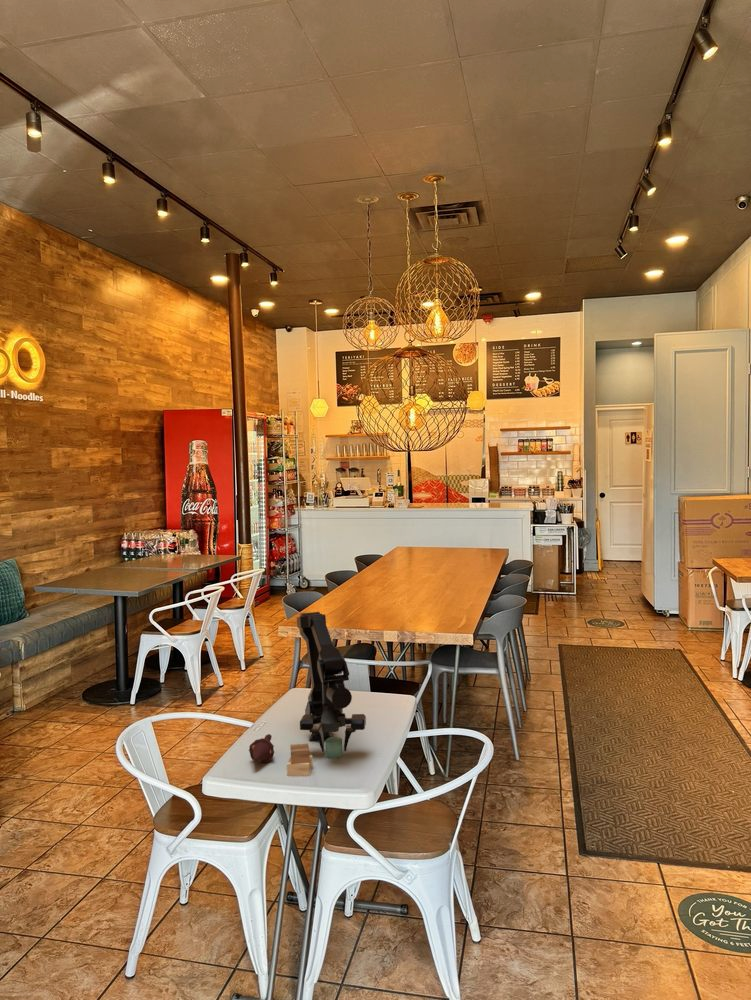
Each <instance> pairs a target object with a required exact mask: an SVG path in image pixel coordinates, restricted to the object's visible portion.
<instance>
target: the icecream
mask: <svg viewBox="0 0 751 1000" xmlns="http://www.w3.org/2000/svg"><path fill="white" fill-rule="evenodd" d="M271 740H272V735H271V734H266V735H265V736H264V738H263V737H262V738H259V739H255V740H254V741H253V742H252V743H251V744H250V745H249V749H248V751H249V754H250V755H249V756H250V758H251V760H252V761H254V762H256V764H257V763H258V764H268V763H269V762H270V761H271V759H272V758H274V755H275V750H274V747H275V746H274V744H273V743H272V742H271Z"/></svg>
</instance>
